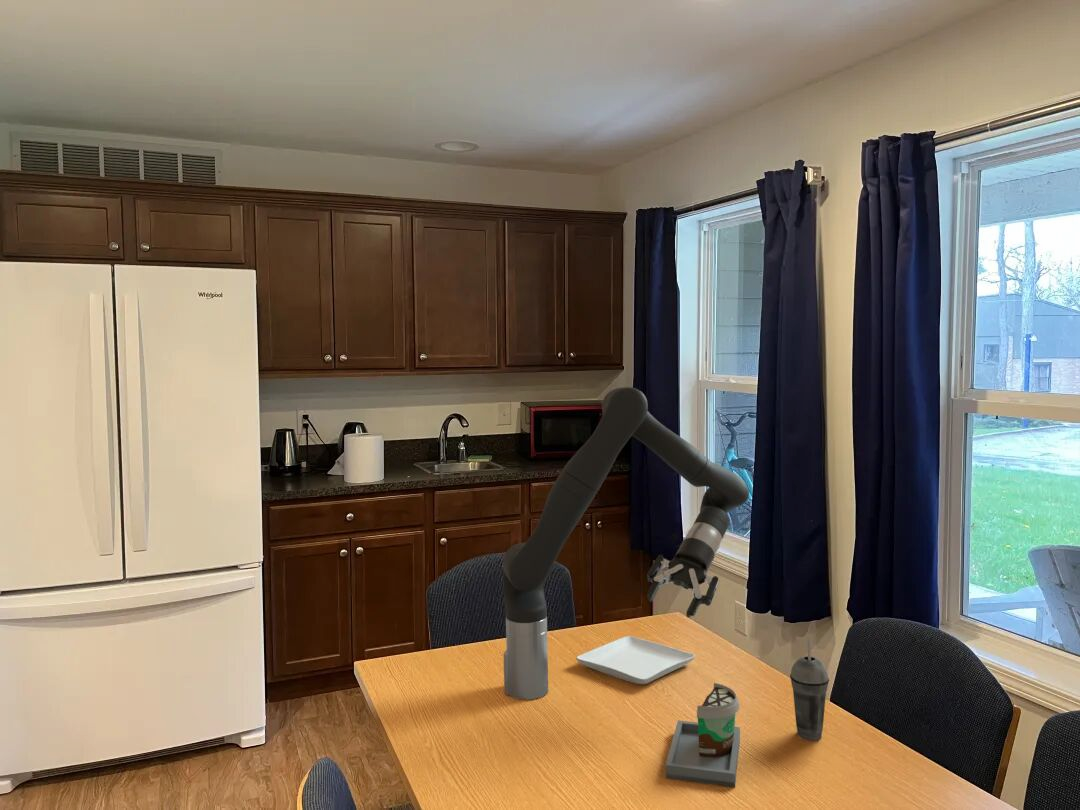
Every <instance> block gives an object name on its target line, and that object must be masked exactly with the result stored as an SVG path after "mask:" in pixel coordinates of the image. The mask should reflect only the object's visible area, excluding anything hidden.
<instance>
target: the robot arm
mask: <svg viewBox="0 0 1080 810" xmlns="http://www.w3.org/2000/svg"><path fill="white" fill-rule="evenodd" d="M601 404H602V405H601V410H602V417H601V419H600V421H599V422H598V424H597V426H596V428H595V430H594V431H593V433H592V434H591V436H590V437H589V438H588V439H587V440H586V442H585V443H584V444H582V446H581V447H580V448H579V449H578V450H577V451H576V452H575V453H574V455H573V456H572V457H571V458H570V459H569V460H568V462H567V463H566V464H565V466H564V468H563V469H562V470H561V472H560V474H559V475H558V477H557V479H556V480H555V481H554V483H553V485H552V487H551V489H550V490H549V491H550V492H549V493H548V495H547V498H546V501H545V504H544V507H543V510H542V513H541V516H540V519H539V520H538V523H537V525H536V527H535V529H534V531H533V532H532V533H531V535H530V536H529V538H528V539H527V541H526V542H520V543H517V544H514V545H512V546H511V547H509V549H507V551H506V552H505V555H504V556H503V560H502V585H503V587H502V588H503V589H502V590H503V601H504V609H505V631H506V632H505V633H506V634H505V635H506V637H505V639H506V649H505V651H504V652H503V684H504V685H503V687H504V689H503V690H504V695H505V694H508V695H507V696H510V697H512V698H514V699H517V698H518V700H523V699H529V700H536V698H537V699H540V698H543V697H544V695H545V696H546V695H547V694H548V692H549V662H548V659H549V658H548V655H549V653H548V616H547V615H548V613H547V608H548V607H547V602H546V598H545V592H544V583H545V582H546V580H547V579H548V577H549V576H550V573H551V571H552V569H553V567H554V565H555V562H556V560H557V558H558V557H559V555H560V552H561V550H562V549H563V547H564V545H565V542H566V541H567V539H569V537H570V535H571V533H572V532H574V529H575V528H576V526H577V525H578V524H579V522H580V521H581V518H582V517H583V515H584V513H585V512H586V511H587V509H588V508H589V507H590V505H591V504H592V501H593V500H594V499H595V497H596V495H597V494H598V491H600V488H601V487H602V484H603V483H604V482H605V480H606V478H607V476H608V474H609V473H610V471H611V468H612V467H613V465H614V463H615V462H616V460H617V457H618V455H619V454H620V453H621V451H622V449H623V448H624V447H625V445H626V444H627V443H628V441H629V440H630V438H631V437H634V438H635V439H636V440H638V441H639V442H641V443H642V444H643V445H645V446H646V447H647V448H648V449H650V451H652V452H653V453H654V454H656V455H657V456H658V457H659V458H660V459H661V460H662V461H663V462H664V463H666V464H667V465H668V466H669V467H670V468H671V469H673V470H674V471H675V472H676V473H677V474H678V475H679V476H680V477H682V478H683V479H684V480H686V482H688V484H690V485H692V486H694V487H695V488H700V487H707V489H706V490H705V492H704V494H703V496H702V499H701V504H700V508H699V513H698V515H697V517H696V518H695V520H694V522H693V524H692V526H690V527H691V528H690V529H689V530H688V531H687V533H686V535H685V537H684V538H683V541H682V542H681V544H680V546H679V548H678V550H677V552H676V553H675V556H674V557H673V558H672V559H671V560H668V559H667V558H664V555H663V554H658V556H657V558H656V559H654V561H653V563H652V565H651V566H650V568H649V569H648V571H647V573H646V574H647V581H648V582H650V583H651V585H650V586H649V588H648V590H647V594H646V595H647V598H648V601H649V602H650V603H651V602H653V600H654V598H655V597H656V596H657V593H658V591H659V589H660V587H661V586H665V585H666V586H667V585H670V584H671V583H673V585H675V586H680V587H682V588H683V589H685V590H688V589H689V590H691V593H692V596H693V598H692V599H691V602H690V604H689V606H688V608H687V610H686V616H685V617H687V618H691V617H694V616H695V615H696V613H697V611H698V610H699V608H700V606H701V605H704V606H708V607H709V606H711V604H712V602H713V599H714V597H715V594H716V591H717V588H718V586H719V576H717V575H713V577H712V576H709V575H707V573H708V571H709V570H710V567H711V565H712V564H713V561H714V559H715V557H716V556H717V554H718V551H719V550H720V547H721V546H720V545H721V543H722V541H723V538H724V537H725V534H726V532H727V530H728V528H729V525H730V517H729V515H728V513H729V511H731V510H733V509H737V508H738V507H740V506H742V505H744V504H745V503H747V501H748V500H749V496H750V490H749V487H748V485H747V483H746V482H745V481H744V479H743V478H741V477H740V476H739V475H738V474H736V473H735V472H732V470H729V469H727V468H725V467H723V466H721V465H719V464H718V463H717V464H716V463H715V462H713V461H711V460H710V459H709V458H708V457H707V456H706V455H705V454H704V453H702V452H701V451H700V450H698V449H697V448H696V447H695V446H693V444H691V443H689V441H687V440H685V439H684V438H683V437H681V436H679V435H677V433H675V432H673V431H672V430H671V429H669V428H667V427H666V426H665V425H664V424H662V423H661V422H660V421H658V420H657V419H656V418H655V417H654V415H652V414H651V413H650V411H648V410H649V405H648V399H647V397H646V395H645V394H644V393H643V391H641V390H639V389H637V388H635V387H632V386H631V387H629V386H623V387H617V388H614V389H612V390H610V391H608V392H607V393H606V395H605V396H604V397H603V400H602V403H601ZM666 567H667V568H668V569H666V570H665V571H663V572H662V573H661V574H659V572H660V570H664V568H666ZM658 574H659V575H658ZM705 582H706V585H707V588H708V589H707V591H706V594H705V595H703V594H702V592H701V589H700V585H702V584H704V583H705Z"/></svg>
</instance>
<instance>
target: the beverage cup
mask: <svg viewBox="0 0 1080 810" xmlns="http://www.w3.org/2000/svg"><path fill="white" fill-rule="evenodd" d="M811 649H812V639H811V637H810V636H809V637H807V656H802V657H800V658H798V659H797V660H796V661H795V662H794V663H793V665H792V667H791V670H790V675H789V678H790V684H791V687H792V694H793V703H794V705H793V706H794V714H795V715H794V717H795V726H796V730H797V731H796V732H797V733H796V734H797V736H798V737H799V738H800V739H802V740H804V739H805V741H808V742H810V741H811V742H816V741H820V740H821V739H822V734H823V729H824V719H825V718H824V717H825V708H826V707H825V706H826V697H827V691H828V686H829V683H830V678H829V673H828V671H827V668H826V666H825V664H824V663H823V662H822V661H821V660H819V659H818V658H816V657H813V656H812V654H811V653H812V650H811Z"/></svg>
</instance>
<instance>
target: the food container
mask: <svg viewBox="0 0 1080 810" xmlns="http://www.w3.org/2000/svg"><path fill="white" fill-rule="evenodd" d="M696 708H697V710H696V718H697V723H698V735H699V756H702V757H722V756H725V755H728V754H729V753H731V752H732V745H733V741H734V727H736V726H735V725H736V724H735V723H736V714H737V713H738V712H739V710H740V703H739V699H738V696H737V693H736V692H735V691H734V690H733V689H732V688H731V687H728V686H727V685H724V684H720V683H718V682H713V689H712V691H711V692H710V693H709V694H707V695H706V697H705V699H704V700H703V702H702V704H701V705H697V707H696Z"/></svg>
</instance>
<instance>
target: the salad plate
mask: <svg viewBox="0 0 1080 810" xmlns="http://www.w3.org/2000/svg"><path fill="white" fill-rule="evenodd" d="M695 657H696V655H695V653H691V652H688V651H685V650H682V649H678V648H675V647H671V646H670V645H669V646H668V645H665V644H662V643H658V642H654V641H651V640H648V639H647V640H646V639H644V638H643V639H642V638H640V637H635V636H632V635H627V636H623V637H621V638H619V639H616V640H613V641H611V642H609V643H606V644H603V645H601V646H598V647H596V648H593V649H591V650H590V651H586V652H584V653H581V654H580V655H578V656H576V661H577V662H579V663H580V664H581V665H583V666H585V667H587V668H590V669H593V670H596V671H597V672H599V673H602V674H604V675H605V674H606V675H608V676H612V677H614V678H617V679H621V680H624V681H626V682H628V683H632V684H635V685H636V684H638V685H645V684H649V683H651V682H653V681H655V680H657V679H659V678H661V677H663V676H665V675H667V674H669V673H671V672H673V671H675V670H678V669H681V668H682V667H685V666H687V664H690V663H691V662H692V661H693V660H694V659H695Z"/></svg>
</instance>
